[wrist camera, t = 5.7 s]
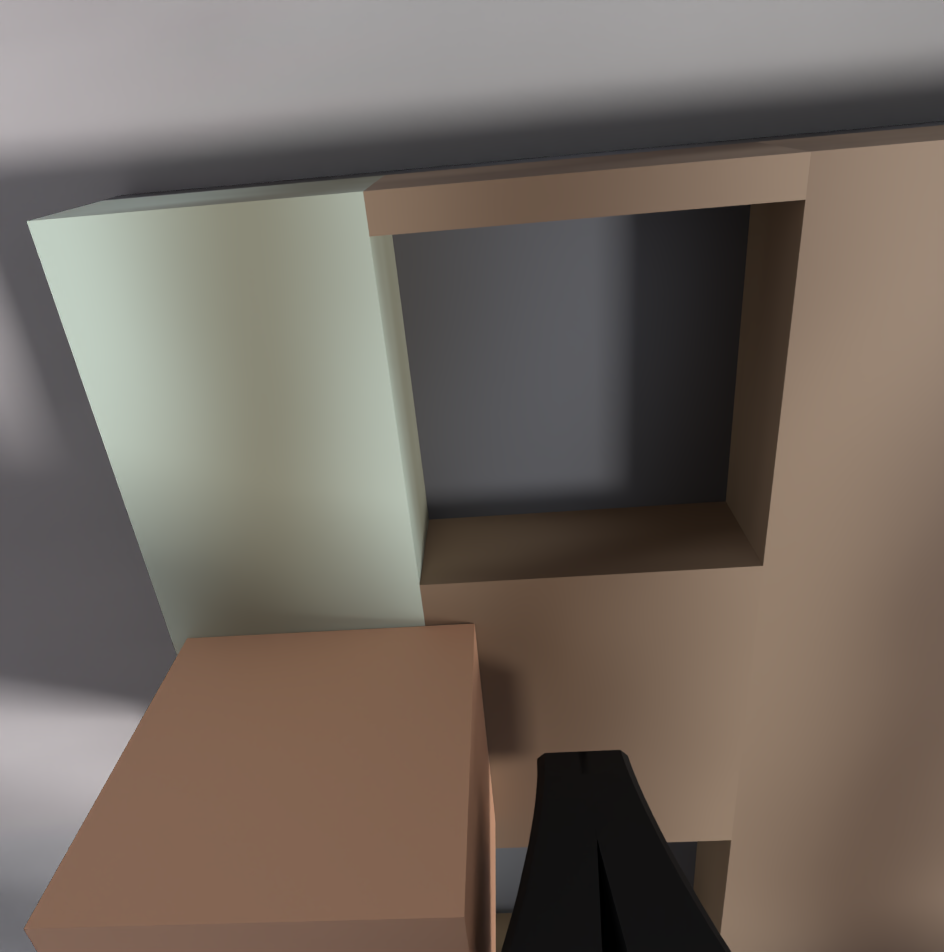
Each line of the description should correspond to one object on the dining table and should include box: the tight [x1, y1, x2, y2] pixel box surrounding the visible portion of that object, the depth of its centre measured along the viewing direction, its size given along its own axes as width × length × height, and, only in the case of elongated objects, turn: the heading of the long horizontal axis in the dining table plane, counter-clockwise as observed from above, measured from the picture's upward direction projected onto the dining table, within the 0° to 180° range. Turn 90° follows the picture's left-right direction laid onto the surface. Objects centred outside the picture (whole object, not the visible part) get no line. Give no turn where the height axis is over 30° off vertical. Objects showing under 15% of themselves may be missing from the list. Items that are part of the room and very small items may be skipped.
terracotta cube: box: [24, 624, 496, 952], centre depth 10 cm, size 4×4×4 cm
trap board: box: [27, 121, 944, 952], centre depth 13 cm, size 16×17×2 cm
